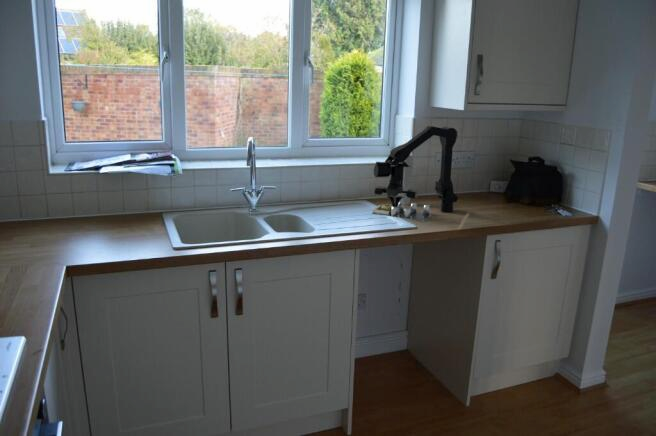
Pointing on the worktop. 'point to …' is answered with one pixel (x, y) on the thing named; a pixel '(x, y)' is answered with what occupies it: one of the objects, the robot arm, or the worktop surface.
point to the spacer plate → (413, 215)
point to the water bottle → (407, 178)
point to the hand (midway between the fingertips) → (394, 210)
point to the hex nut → (386, 207)
